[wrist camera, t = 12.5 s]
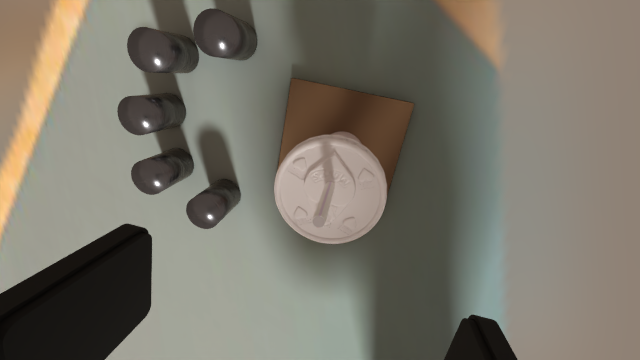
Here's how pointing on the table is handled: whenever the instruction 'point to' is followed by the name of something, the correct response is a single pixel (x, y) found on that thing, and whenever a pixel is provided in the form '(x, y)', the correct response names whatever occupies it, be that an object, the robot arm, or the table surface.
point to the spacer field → (181, 105)
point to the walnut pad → (346, 120)
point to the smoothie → (331, 188)
